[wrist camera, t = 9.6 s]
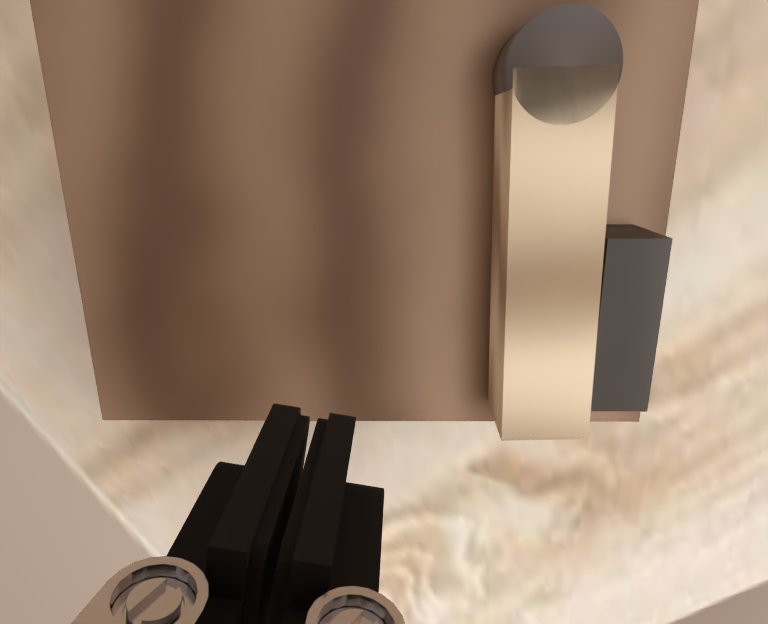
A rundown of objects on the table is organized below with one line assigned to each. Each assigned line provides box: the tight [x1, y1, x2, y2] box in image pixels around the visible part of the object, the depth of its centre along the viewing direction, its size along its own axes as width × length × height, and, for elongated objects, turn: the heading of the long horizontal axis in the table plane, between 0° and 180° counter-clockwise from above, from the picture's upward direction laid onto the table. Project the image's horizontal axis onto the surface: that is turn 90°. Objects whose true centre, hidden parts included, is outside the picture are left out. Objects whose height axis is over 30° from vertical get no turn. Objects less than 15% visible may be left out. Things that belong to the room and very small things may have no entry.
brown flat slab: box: [30, 0, 699, 422], centre depth 20 cm, size 22×16×6 cm
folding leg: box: [488, 3, 623, 441], centre depth 19 cm, size 14×3×3 cm, turn 2°
